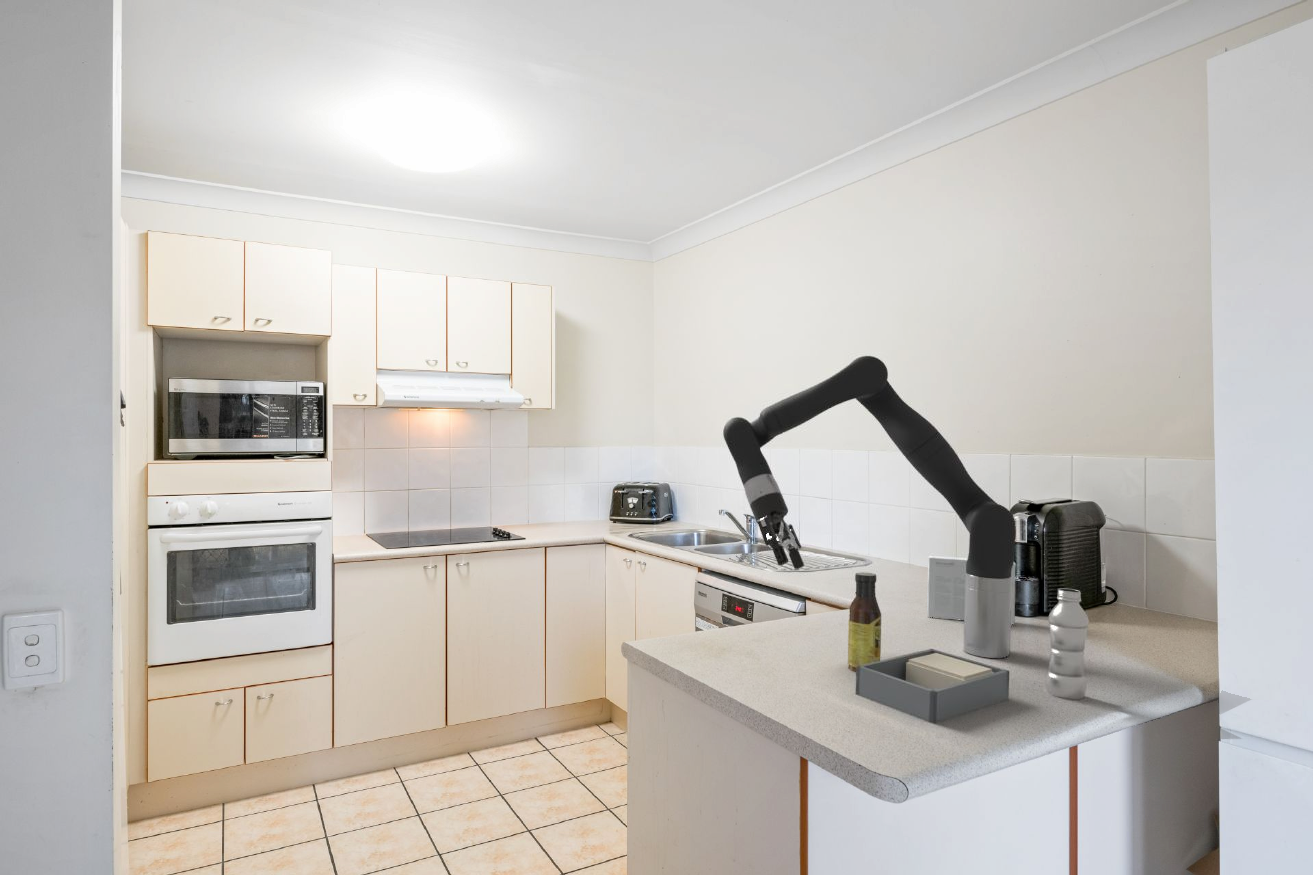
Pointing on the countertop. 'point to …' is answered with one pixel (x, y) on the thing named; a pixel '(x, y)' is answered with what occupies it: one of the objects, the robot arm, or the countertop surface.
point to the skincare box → (953, 588)
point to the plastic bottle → (1067, 646)
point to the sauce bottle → (864, 623)
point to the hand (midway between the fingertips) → (792, 565)
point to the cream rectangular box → (941, 671)
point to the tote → (894, 691)
